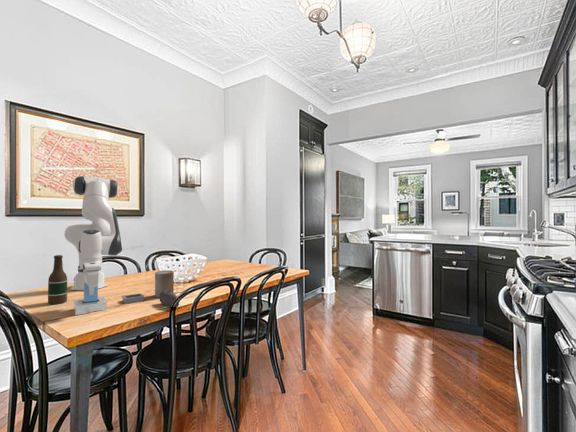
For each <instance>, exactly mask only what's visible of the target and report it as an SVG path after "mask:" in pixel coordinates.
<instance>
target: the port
mask: <svg viewBox="0 0 576 432" xmlns="http://www.w3.org/2000/svg"><path fill="white" fill-rule="evenodd" d="M107 304H108V302H107V300H106V298H105V296H98V301H91V302H84V298H81V299H75V300H73V310H74V315H75V316H80V315H85V314H90V313H93V312H99V311H100V312H101V311H107V309H108V305H107Z"/></svg>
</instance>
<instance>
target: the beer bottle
mask: <svg viewBox="0 0 576 432" xmlns="http://www.w3.org/2000/svg"><path fill="white" fill-rule="evenodd" d="M63 258H64V257H63V255H62V254H56V255H54V256H53V270H52V272H51V273H50V275H49V276H48V281H47V282H48V287H47V290H48V291H47V303H48V305H52V306H53V305H55V306H57V305H61V304H64V303H66V302H67V301H68V276H67V274H66V272H65V271H64V266H63V265H64V264H63Z"/></svg>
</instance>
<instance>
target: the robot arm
mask: <svg viewBox="0 0 576 432" xmlns="http://www.w3.org/2000/svg"><path fill="white" fill-rule="evenodd" d="M72 181H73V182H72V190H73V192H74V193H75V194H76V195H79V196H83V198H82V199H83V200H82V207H81V215H82V217H83V218H84V219H85V220H88V221H90V222H91V224H89V223H88V224H85V223H84V224H83V223H81V224H73V225H68V226H67V227H66V228H65V230H64V239H65V240H66V241H67V242H69V243H71V244H72V245H73V247H75V249H76V251H77V253H78V267H77V274H75V275H74V278H73V284H72V287H70V291H84V284H87V285H88V287H89V295H93V294H94V287H97V286H98V290H99V289H102V288H105V287H108V284H107V283H105V273H104V272H103V271H102V268H103V256H118V255H119V254H120V253H122V251H123V250H124V249H123V248H124V243H123V242H124V241H123V239H122V236H121V231H120V227H119V221H118V216H117V212H116V210H115V208H114V207H112V206H111V205H110V203H109V199H110V198H115V197H116V196H118V193H119V190H120V189H119V187H120V186H119V184H118V182H117V181H116V180H114V179H107V178H103V177H95V176H93V177H92V176H84V175H83V176H82V175H81V176H77V177H75V178H74V180H72Z"/></svg>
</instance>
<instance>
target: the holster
mask: <svg viewBox="0 0 576 432" xmlns="http://www.w3.org/2000/svg"><path fill="white" fill-rule="evenodd" d="M122 302H123V303H124V304H125V305H127V304H132V303H141V302H145V295H143V293H135V294H134V293H133V294H125V295H122Z"/></svg>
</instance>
